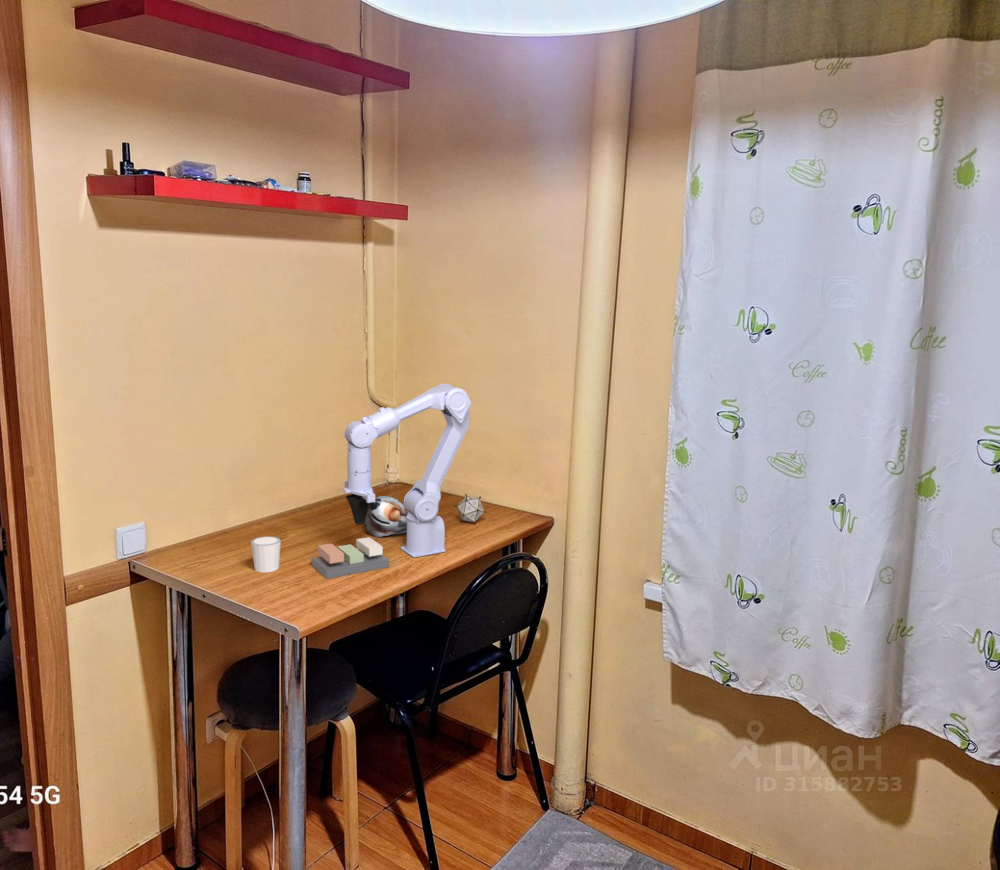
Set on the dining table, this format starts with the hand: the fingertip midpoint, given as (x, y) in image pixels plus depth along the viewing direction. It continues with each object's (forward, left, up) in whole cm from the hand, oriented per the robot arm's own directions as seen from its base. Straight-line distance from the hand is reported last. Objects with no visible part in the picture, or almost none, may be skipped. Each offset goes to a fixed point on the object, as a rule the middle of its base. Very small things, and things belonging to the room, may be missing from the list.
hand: (359, 523), depth 197 cm
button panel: (+4, +4, -9) cm, 11 cm away
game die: (-40, -13, -10) cm, 43 cm away
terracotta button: (+9, +4, -6) cm, 11 cm away
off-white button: (-1, +4, -6) cm, 7 cm away
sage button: (+4, +3, -7) cm, 9 cm away
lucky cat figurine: (-15, -15, -10) cm, 24 cm away
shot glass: (+22, -5, -10) cm, 25 cm away
